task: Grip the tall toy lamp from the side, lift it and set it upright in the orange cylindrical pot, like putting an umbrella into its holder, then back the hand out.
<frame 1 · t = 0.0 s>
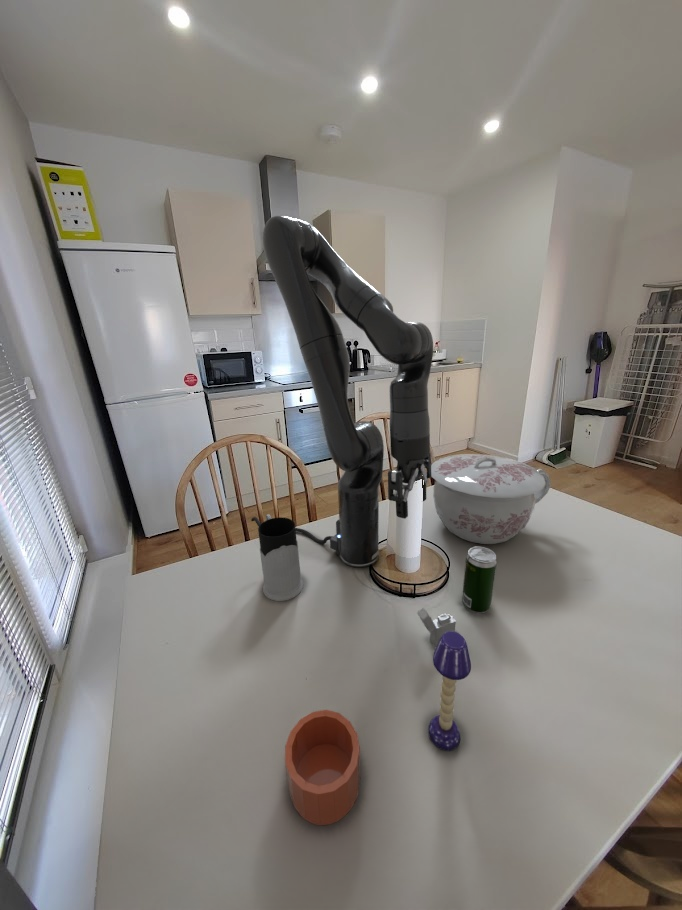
hand: (411, 508, 73), 17 cm above the table, tool pointing down, fingers open, 8 cm apart
beer can: (475, 605, 71), on the table
glass holder: (280, 579, 80), on the table
toy lamp: (444, 732, 49), on the table
orange cylindrical pot: (324, 778, 44), on the table
chamber pot: (478, 529, 96), on the table
lighter: (434, 643, 63), on the table
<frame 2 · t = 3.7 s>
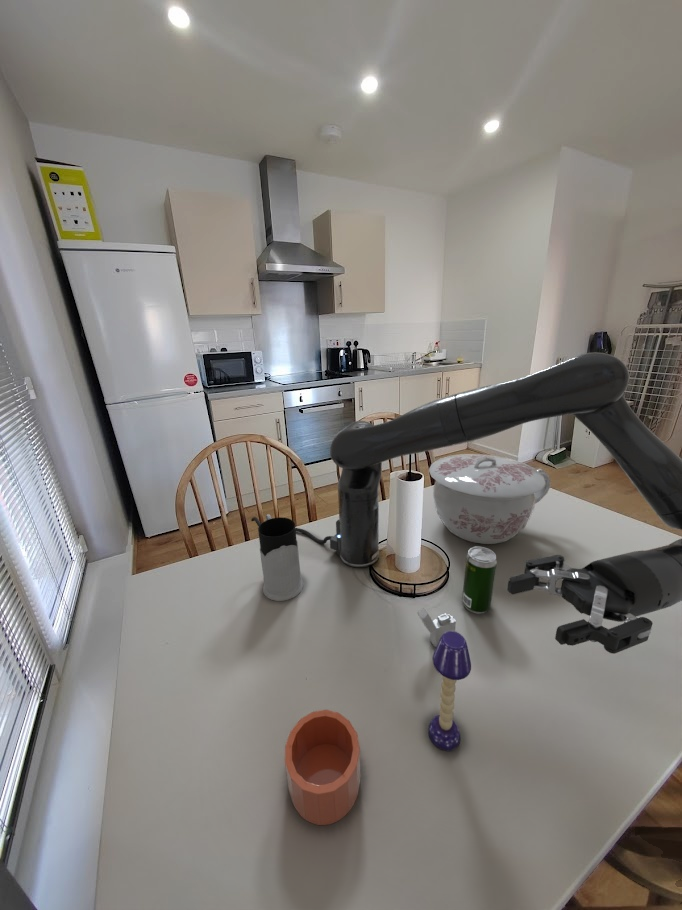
hand: (531, 609, 45), 19 cm above the table, tool horizontal, fingers open, 8 cm apart
nothing on the table moved.
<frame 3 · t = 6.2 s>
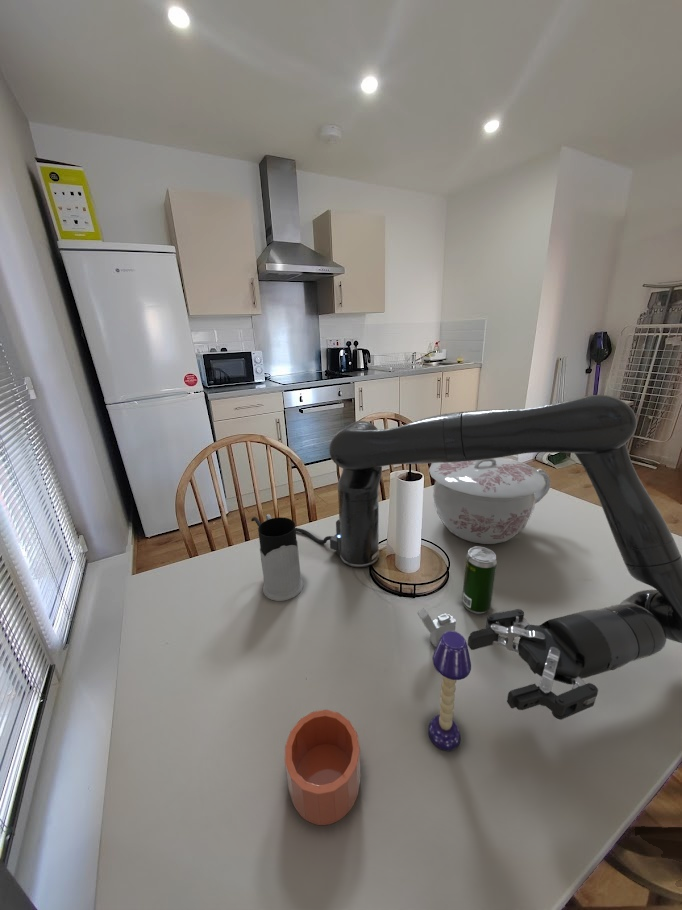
hand: (487, 669, 47), 10 cm above the table, tool horizontal, fingers open, 8 cm apart
nothing on the table moved.
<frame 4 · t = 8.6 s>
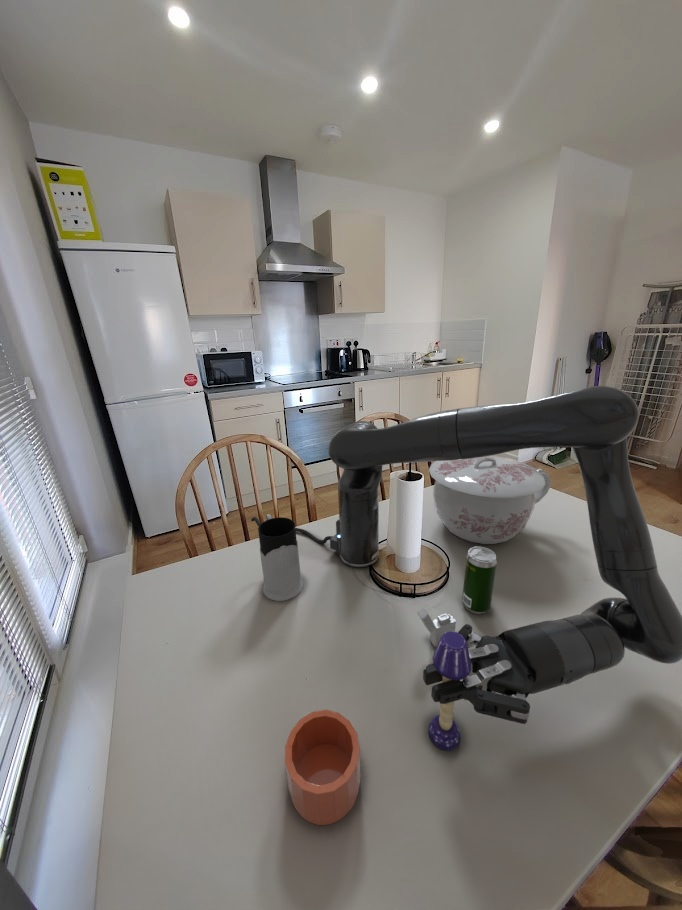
hand: (429, 685, 45), 10 cm above the table, tool horizontal, fingers closed on toy lamp
toy lamp: (444, 732, 49), on the table, touching gripper
everything else where it was.
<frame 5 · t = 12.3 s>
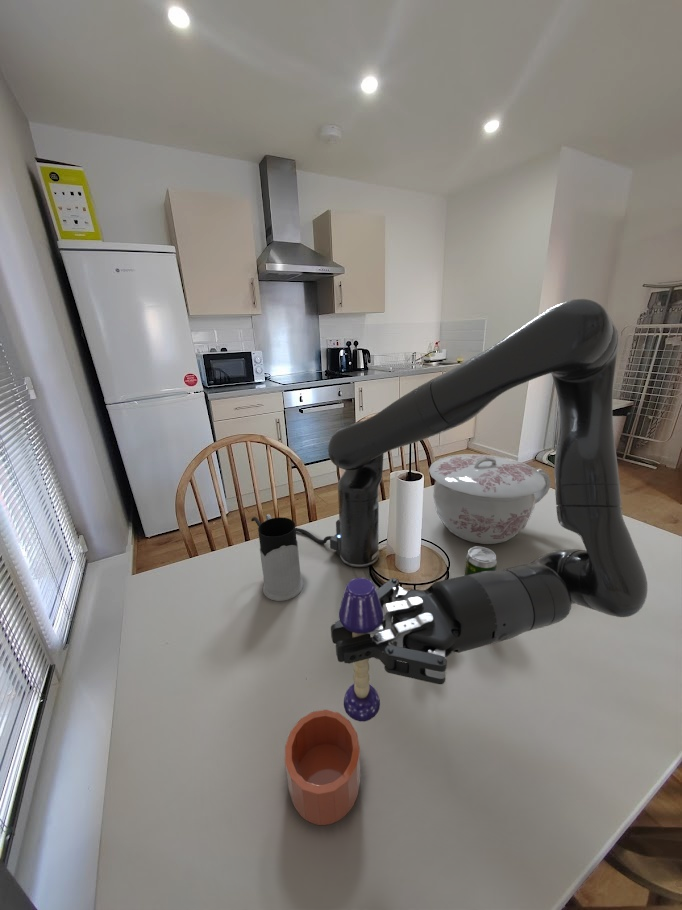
hand: (334, 643, 38), 22 cm above the table, tool horizontal, fingers closed on toy lamp
toy lamp: (363, 701, 42), point 11 cm above the table, touching gripper
everything else where it was.
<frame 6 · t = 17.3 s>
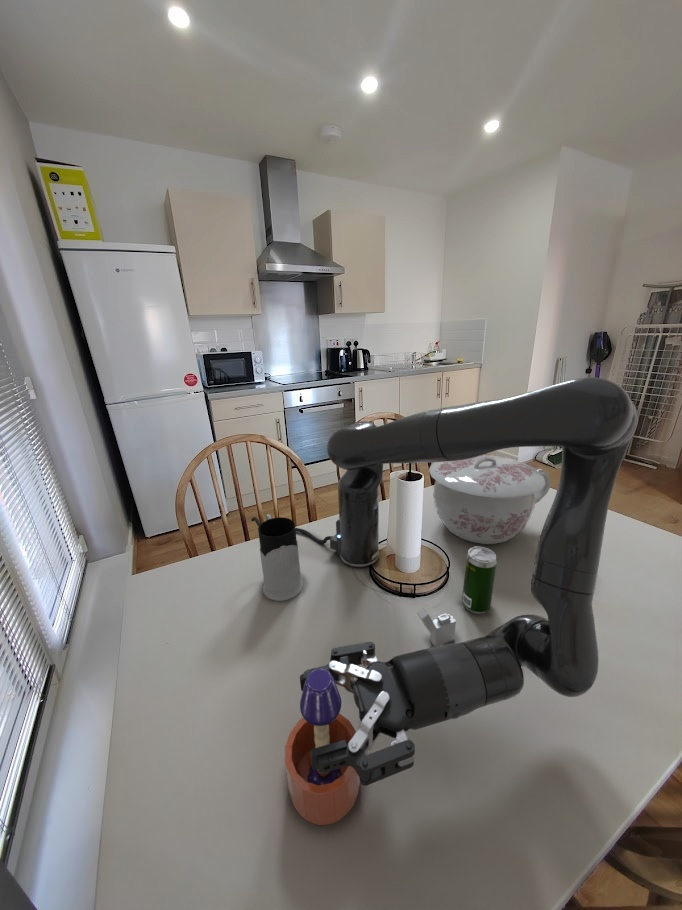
hand: (305, 718, 40), 12 cm above the table, tool horizontal, fingers open, 8 cm apart
toy lamp: (326, 777, 44), resting on orange cylindrical pot
everything else where it was.
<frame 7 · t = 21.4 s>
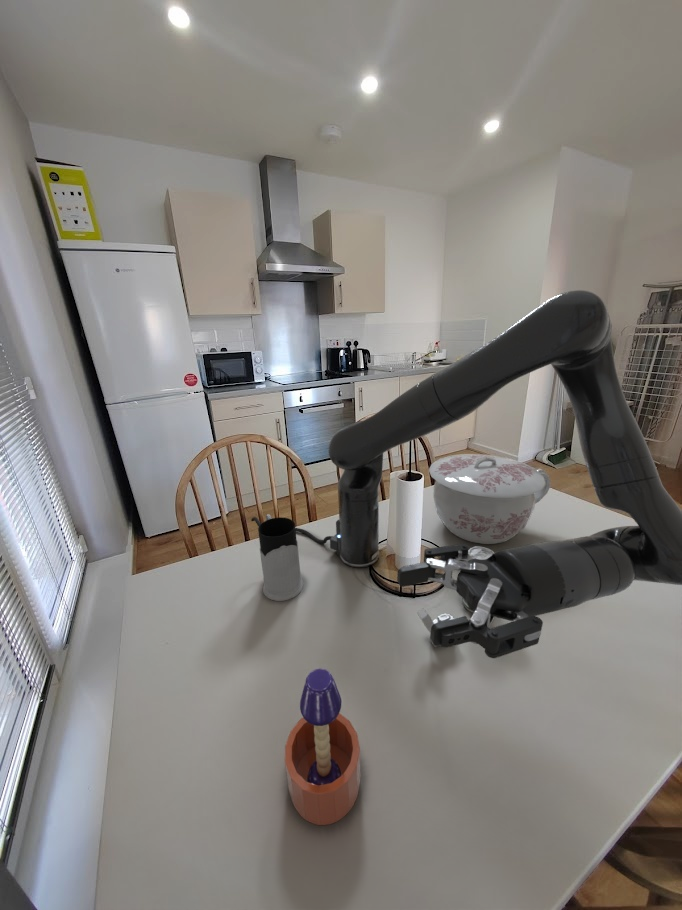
hand: (413, 604, 38), 25 cm above the table, tool horizontal, fingers open, 8 cm apart
nothing on the table moved.
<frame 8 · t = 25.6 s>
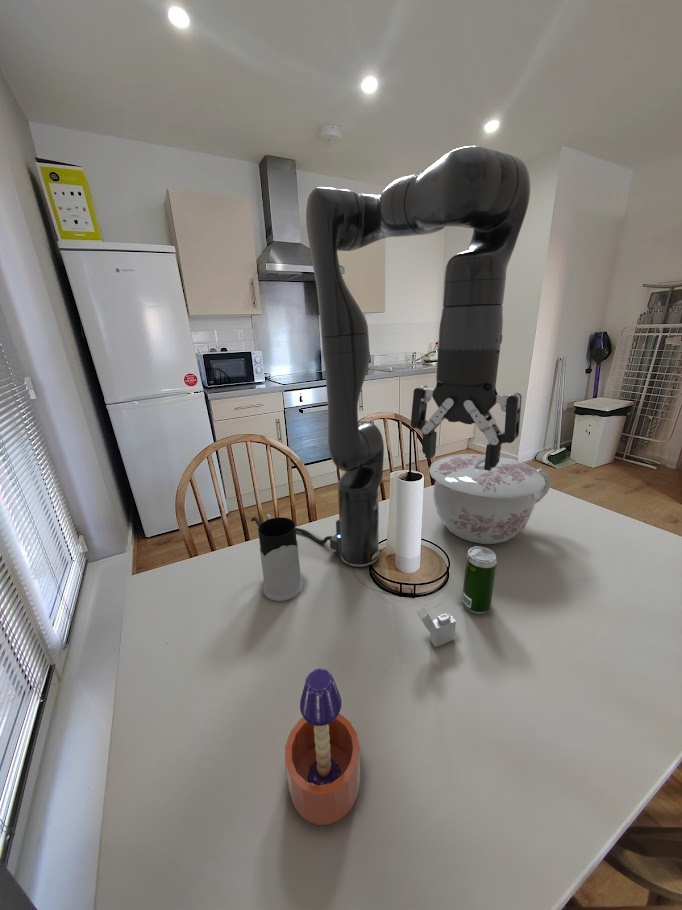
hand: (458, 462, 51), 34 cm above the table, tool pointing down, fingers open, 8 cm apart
nothing on the table moved.
at the end: toy lamp 0.2 cm off-centre in the orange cylindrical pot, point 0.3 cm above the orange cylindrical pot's base; toy lamp tilted 0°; the gripper is holding nothing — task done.
